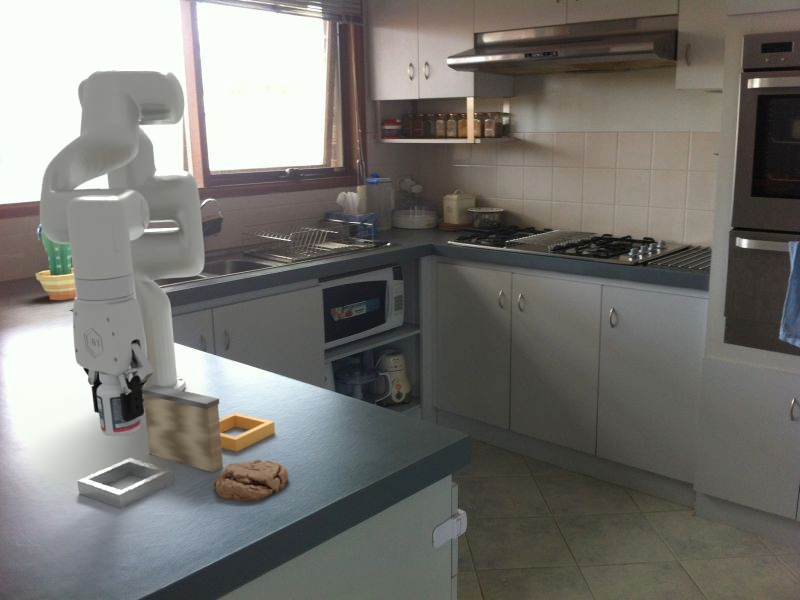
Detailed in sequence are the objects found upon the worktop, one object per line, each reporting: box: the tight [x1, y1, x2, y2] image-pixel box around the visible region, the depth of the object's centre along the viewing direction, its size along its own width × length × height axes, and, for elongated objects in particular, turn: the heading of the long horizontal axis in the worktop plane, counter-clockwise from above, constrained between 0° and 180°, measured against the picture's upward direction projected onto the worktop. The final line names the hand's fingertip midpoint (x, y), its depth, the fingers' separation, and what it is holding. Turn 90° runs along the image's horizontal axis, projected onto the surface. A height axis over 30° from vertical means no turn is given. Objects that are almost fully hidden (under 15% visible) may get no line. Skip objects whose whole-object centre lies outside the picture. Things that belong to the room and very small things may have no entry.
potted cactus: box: [35, 223, 76, 301], centre depth 248 cm, size 15×15×25 cm
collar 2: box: [219, 412, 276, 452], centre depth 131 cm, size 9×9×2 cm
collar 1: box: [77, 457, 174, 509], centre depth 113 cm, size 9×9×2 cm
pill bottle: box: [97, 372, 141, 437], centre depth 111 cm, size 5×5×9 cm
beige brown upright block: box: [142, 385, 224, 473], centre depth 121 cm, size 14×3×11 cm, turn 57°
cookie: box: [212, 459, 289, 502], centre depth 113 cm, size 10×11×3 cm
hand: (119, 412), depth 112 cm, fingers closed on pill bottle, 5 cm apart
